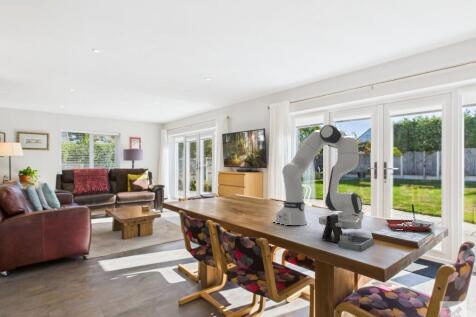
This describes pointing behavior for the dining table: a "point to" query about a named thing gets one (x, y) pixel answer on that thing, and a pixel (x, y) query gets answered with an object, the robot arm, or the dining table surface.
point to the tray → (364, 245)
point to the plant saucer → (394, 226)
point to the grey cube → (346, 238)
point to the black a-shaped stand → (328, 229)
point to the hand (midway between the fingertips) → (331, 224)
